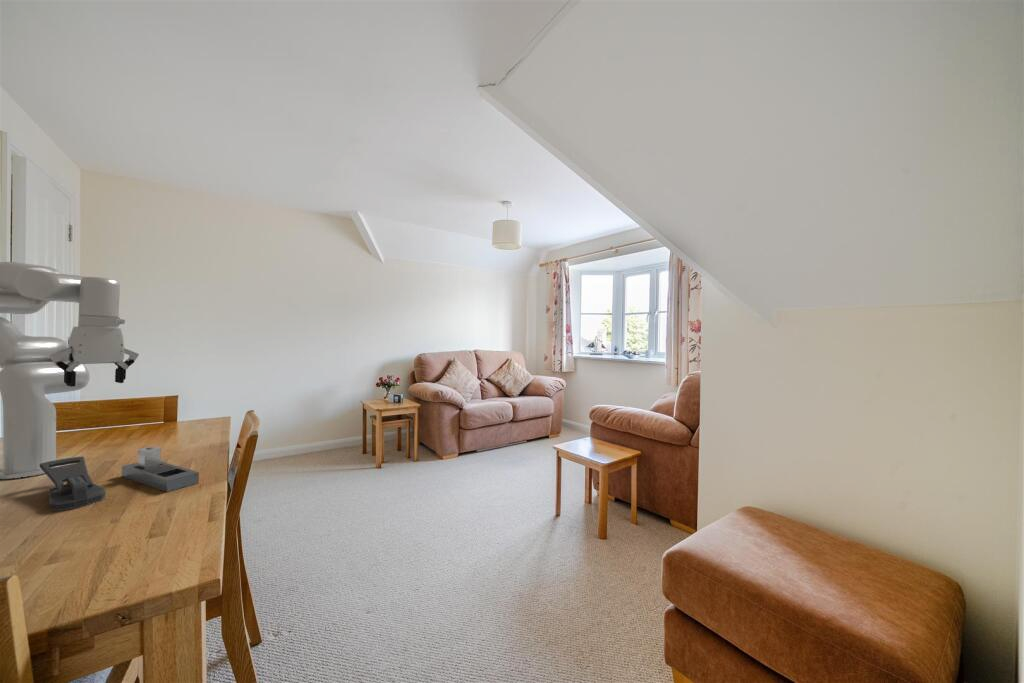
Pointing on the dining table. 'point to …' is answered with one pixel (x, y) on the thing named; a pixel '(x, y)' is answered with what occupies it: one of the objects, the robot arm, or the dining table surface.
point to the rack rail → (161, 476)
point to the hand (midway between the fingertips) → (95, 384)
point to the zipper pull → (71, 484)
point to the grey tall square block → (149, 457)
